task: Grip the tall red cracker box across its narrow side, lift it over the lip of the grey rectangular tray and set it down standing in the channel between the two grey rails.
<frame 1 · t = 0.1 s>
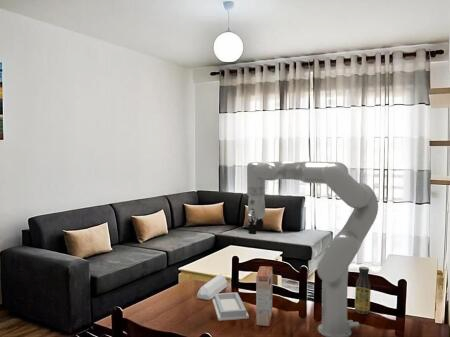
hand: (256, 231, 169), 37 cm above the table, tool pointing down, fingers open, 9 cm apart
sauce bottle: (362, 312, 175), on the table
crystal: (212, 293, 202), on the table
cracker box: (264, 319, 169), on the table
grey rectangular tray: (229, 309, 180), on the table
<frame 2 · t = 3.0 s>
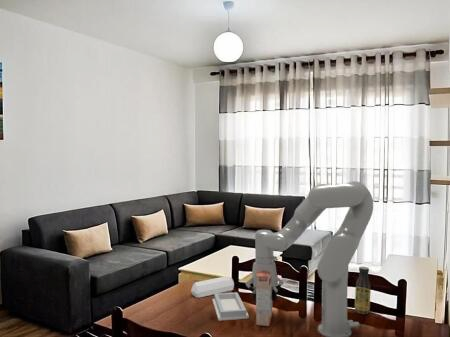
hand: (264, 300, 168), 8 cm above the table, tool pointing down, fingers closed on cracker box, 7 cm apart
cracker box: (264, 319, 169), on the table, touching gripper
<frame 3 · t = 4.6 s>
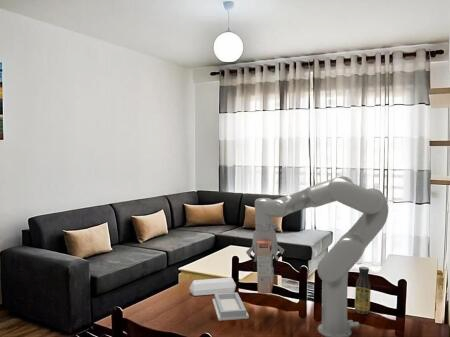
hand: (265, 269, 168), 21 cm above the table, tool pointing down, fingers closed on cracker box, 7 cm apart
cracker box: (266, 288, 168), point 13 cm above the table, touching gripper
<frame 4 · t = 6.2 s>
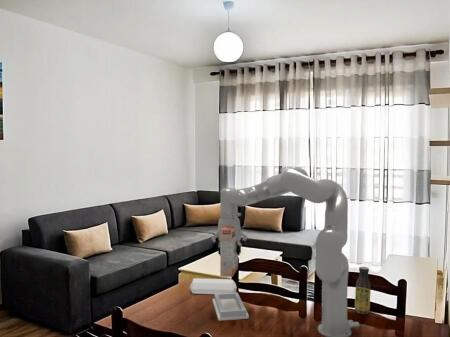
hand: (229, 254, 179), 25 cm above the table, tool pointing down, fingers closed on cracker box, 7 cm apart
cracker box: (229, 272, 179), point 17 cm above the table, touching gripper
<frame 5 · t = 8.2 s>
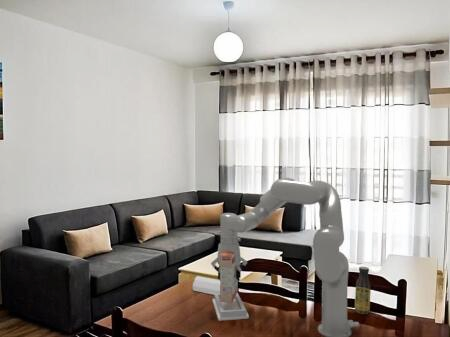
hand: (229, 279, 179), 14 cm above the table, tool pointing down, fingers closed on cracker box, 7 cm apart
cracker box: (229, 297, 180), point 5 cm above the table, touching gripper
when the fingers open (11 cm above the table, at t = 9.5 s): cracker box stays where it is, resting on grey rectangular tray.
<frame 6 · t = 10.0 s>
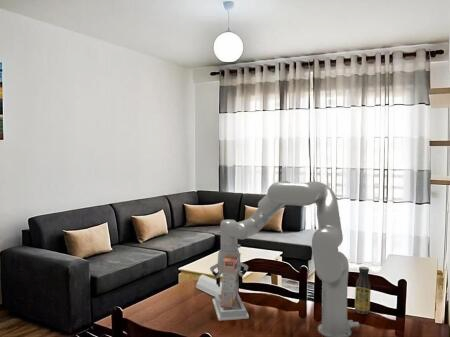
hand: (229, 285, 179), 11 cm above the table, tool pointing down, fingers open, 9 cm apart
cracker box: (229, 301, 180), point 3 cm above the table, touching grey rectangular tray
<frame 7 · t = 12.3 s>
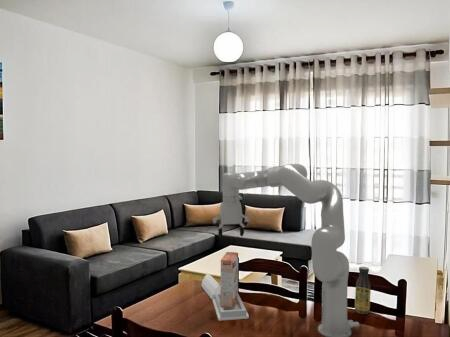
hand: (231, 236, 184), 32 cm above the table, tool pointing down, fingers open, 9 cm apart
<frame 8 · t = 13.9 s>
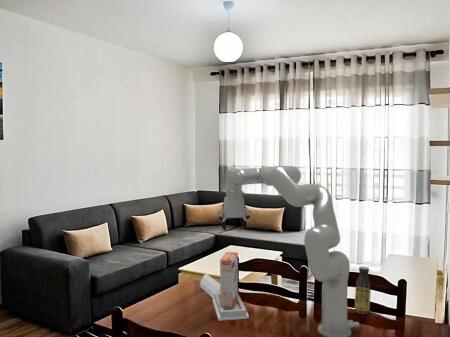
hand: (234, 229, 194), 33 cm above the table, tool pointing down, fingers open, 9 cm apart
at the end: cracker box inside the target area on the grey rectangular tray (0.0 cm from its centre), point 3.4 cm above the grey rectangular tray's base; cracker box tilted 1°; the gripper is holding nothing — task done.
